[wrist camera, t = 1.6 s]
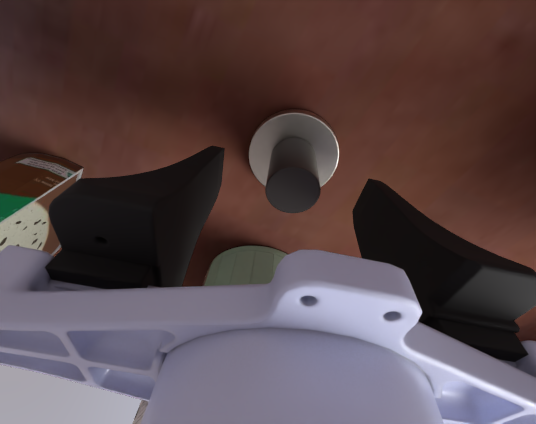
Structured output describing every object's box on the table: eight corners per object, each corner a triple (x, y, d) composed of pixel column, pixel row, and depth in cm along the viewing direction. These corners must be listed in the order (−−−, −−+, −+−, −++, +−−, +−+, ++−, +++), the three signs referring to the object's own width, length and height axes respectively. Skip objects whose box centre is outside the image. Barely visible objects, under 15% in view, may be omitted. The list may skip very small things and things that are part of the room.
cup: (330, 286, 23) (339, 357, 18) (259, 320, 27) (252, 385, 23) (255, 227, 20) (242, 297, 15) (188, 276, 24) (161, 342, 19)
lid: (355, 155, 15) (372, 195, 12) (290, 203, 18) (289, 247, 15) (297, 86, 13) (297, 112, 10) (232, 151, 16) (216, 188, 13)
